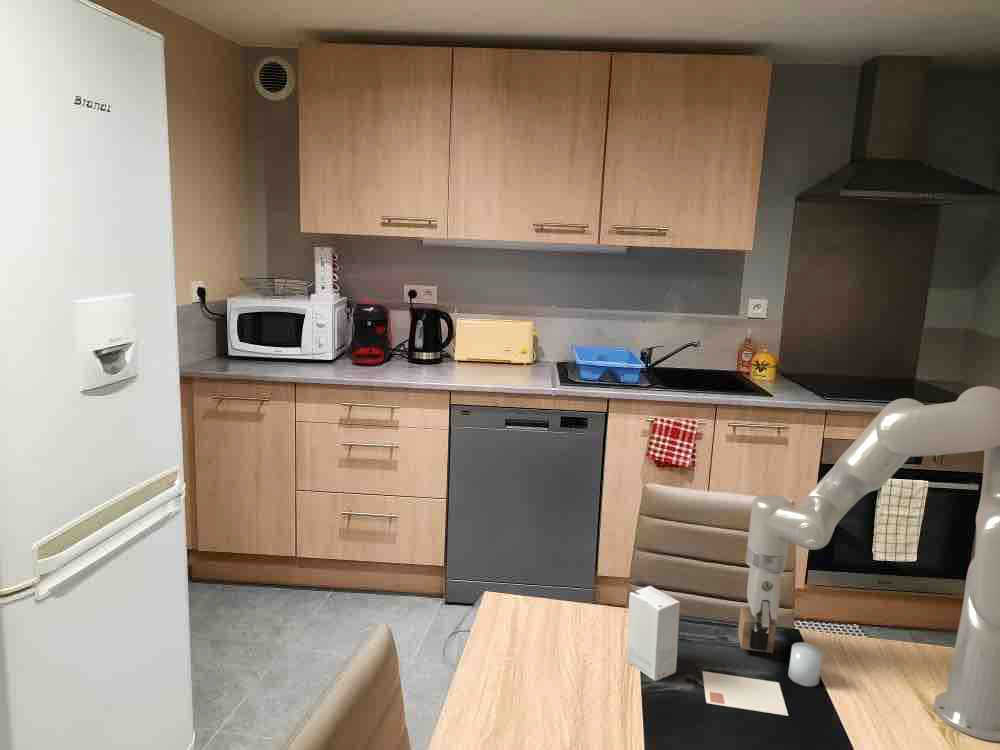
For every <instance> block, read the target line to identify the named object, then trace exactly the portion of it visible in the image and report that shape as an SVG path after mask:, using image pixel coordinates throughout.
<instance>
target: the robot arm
mask: <svg viewBox="0 0 1000 750" xmlns="http://www.w3.org/2000/svg"><path fill="white" fill-rule="evenodd" d="M982 451H984V452H983V454H984V455H983V457H984V458H983V468H982V484H981V491H980V499H979V504H978V508H977V512H976V515H975V526H976V527H975V529H976V530H975V531H976V535H975V536H976V537H975V550H974V557H973V559H971V562H970V564H969V566H968V569H967V573H966V579H965V587H964V595H963V602H962V608H961V614H960V618H959V624H958V629H957V635H956V640H955V643H954V644H955V645H954V651H953V654H952V655H953V656H952V659H951V660H952V662H951V667H950V672H949V679H948V683H947V688H946V691H945V692H941V693H939V694H937V695H936V696H935V698H934V702H933V706H934V710H935V712H936V714H937V715H938V716H939V717H940V718H941V720H943V721H944V722H945V723H946V724H948V725H949V726H951V727H953V728H954V729H956V730H957V731H959V732H961V733H964V734H966V735H968V736H971V737H974V738H977V739H980V740H985V741H990V742H1000V389H999V388H997V387H992V386H987V385H980V386H974V387H970V388H968V389H966V390H965V391H963V392H962V393H961V394H960V395H959V396H958V398H957V399H956V400H955V401H950V402H944V403H943V402H942V403H936V404H934V403H933V404H926V405H925V404H924V403H922V402H920V401H918V400H916V399H913V398H909V397H908V398H907V397H904V398H898V399H895V400H893V401H890V402H889V403H888V404H887V405H886V406H885V407H884V408H883V409H882V410H881V411H880V412H879V413H878V414H877V415H876V417H875V418H873V420H872V421H871V422H870V423H869V425H868V426H866V428H865V429H864V430H863V431H862V432H861V434H859V436H858V437H857V438H856V439H855V440H854V441H853V443H851V445H850V446H849V447H847V449H846V450H845V451H844V452H843V454H842V455H841V456H840V457H839V458H838V460H836V462H835V464H834V465H833V467H832V468H831V469H830V470H829V471H828V472H827V473H826V474H825V475H824V476H823V477H822V478H821V479H820V480H819V482H818V483H817V484H816V485H815V486H814V487H813V489H812V490H811V491H810V492H809V493H808V494H807V495H806V496H805V498H804V499H803V500H802V501H801V502H800V504H799V505H798V506H797V507H795V508H794V507H793V504H792V502H791V501H790V500H789V499H788V498H785V497H783V496H780V495H776V494H771V493H770V494H769V493H768V494H765V493H764V494H759V495H757V496H755V497H754V499H753V500H752V503H751V512H750V519H749V520H750V521H749V529H748V537H747V544H746V545H747V547H746V552H745V563H746V564H747V565H748V566H749V570H748V576H747V577H748V579H747V585H746V586H747V588H746V598H747V599H746V600H747V602H748V603H747V604H748V606H747V607H748V608H750V611H751V614H752V615H753V617H754V627H753V629H752V630H751V638H750V648H751V649H757V650H764V651H765V650H767V643H768V636H769V619H770V615H771V618H772V619H774V620H775V621H777V620H778V618H779V610H780V598H781V580H782V579H781V575H782V574H781V572H783V571H784V570H785V569H786V566H787V559H788V551H789V549H788V548H789V543H791V544H793V545H795V546H798V547H800V548H803V549H806V550H814V551H815V550H816V551H817V550H821V549H823V548H825V547H826V546H827V545H828V544H829V543H830V541H831V539H832V536H833V533H835V532H834V531H835V528H836V527H837V525H838V523H839V522H840V521H841V520H842V518H844V516H845V515H846V514H847V513H848V512H849V511H850V510H851V509H852V508H853V507H854V506H855V505H856V504H857V503H858V502H859V500H861V499H862V498H863V497H864V496H865V495H867V494H869V493H871V492H873V491H874V492H876V491H878V490H879V489H881V487H884V485H885V484H886V483H887V482H888V481H889V480H890V479H891V478H892V477H893V475H895V473H896V472H897V471H898V470H899V469H900V468H901V467H902V466H903V465H904V464H905V463H906V462H907V461H908V459H909V458H910V457H914V458H916V457H928V456H929V457H930V456H941V455H950V454H951V455H952V454H962V453H973V452H982ZM785 571H786V570H785ZM758 612H759V613H761V615H757V613H758ZM758 619H761V623H758ZM757 623H758V625H757Z"/></svg>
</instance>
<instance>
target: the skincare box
mask: <svg viewBox="0 0 1000 750" xmlns="http://www.w3.org/2000/svg"><path fill="white" fill-rule="evenodd" d="M680 605H681V602H680V601H679V600H678V599H675V598H673V597H672V596H669V594H666V593H664V592H662V591H661V590H659V589H657V588H655V587H653V586H652V585H648V586H645V587H643V588H640V589H637V590H634V591H631V592H629V600H628V620H627V623H628V624H627V625H628V626H627V641H626V642H627V643H626V644H627V645H626V660H625V661H626V662H627V663H628V664H629V665H631V666H633V667H634V668H636V669H637V670H638V671H640V672H641V673H643V674H644V675H646V676H647V677H649V678H650V679H652V680H653V681H654V682H657V681H659V680H661V679H664V678H667V677H670V676H672V675H673V674H676V672H677V665H678V664H677V663H678V661H677V660H678V641H679V623H680V622H679V621H680Z"/></svg>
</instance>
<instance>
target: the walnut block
mask: <svg viewBox="0 0 1000 750" xmlns="http://www.w3.org/2000/svg"><path fill="white" fill-rule="evenodd" d="M757 615H761V613H759V612H758V613H757ZM738 620H739V621H738V629H737V635H738V636H737V637H738V640H739V644H740V649H742V650H748V651H755V652H761V653H762V652H764V653H770V654H773V653H774V646H775V645H774V644H775V637H776V632H777V631H776V629H777V623H776V620H774V619H772V618H771V615H770V619H769V636H768V643H767V650H765V651H764V650H757V649H751V648H750V638H751V630H752V629H753V627H754V617H753V615H752V614H751V611H750V608H748V606H747V607H746V606H740V612H739V619H738ZM758 623H761V619H758ZM758 623H757V625H758Z"/></svg>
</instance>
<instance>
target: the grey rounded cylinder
mask: <svg viewBox="0 0 1000 750" xmlns="http://www.w3.org/2000/svg"><path fill="white" fill-rule="evenodd" d="M790 651H791V652H790V658H789V666H788V672H787V673H788V674H787V675H788V677H789V679H790V680H791V681H792V682H794V683H796V684H798V685H799V686H804V687H815V686H818V685H819V683H820V677H821V671H822V665H823V664H822V663H823V657H824V653H823V651H822V649H821V648H819V647H817V646H816V645H814V644H811V643H808V642H802V641H801V642H799V641H798V642H795V643H793V644H792V646H791V650H790Z"/></svg>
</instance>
